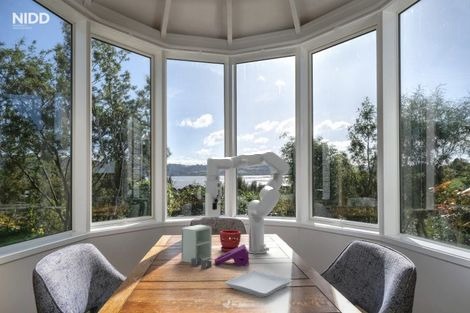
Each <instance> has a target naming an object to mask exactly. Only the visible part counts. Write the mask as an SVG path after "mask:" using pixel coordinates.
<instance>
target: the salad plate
mask: <svg viewBox="0 0 470 313" xmlns="http://www.w3.org/2000/svg"><path fill="white" fill-rule="evenodd" d="M292 281H293V280H292V279H289V278H286V277H283V276H278V275H275V274H272V273H271V274H270V273H266V272H262V271H261V272H260V271H256V270H251V271H249V272H246V273H244V274H241V275H238V276H236V277H234V278H231V279H229V280H226V281H225V282H224V283H225V285H227V287H229V288H231V289H234V290H236V291H239V292H243V293H247V294H250V295H253V296H256V297H261V298H262V297H263V298H265V297H267V296H269V295H272V294H274V293H275V292H277V291H279V290H281V289H283V288H285V287H287V286H289V285H290V284H291V282H292Z"/></svg>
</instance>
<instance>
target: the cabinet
mask: <svg viewBox="0 0 470 313" xmlns="http://www.w3.org/2000/svg"><path fill="white" fill-rule="evenodd" d="M212 232H213V231H212V225H203V224H196V225H189V226H186V227H182V228H181V259H180V260H181V262H183V263H184V262H185V263H188V264H191V258H195V259H196V264H197V258H200V259H201V260H204V261H207V260H210V259H212V253H213V252H212V239H213V238H212V235H213V234H212Z"/></svg>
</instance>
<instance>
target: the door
mask: <svg viewBox="0 0 470 313" xmlns="http://www.w3.org/2000/svg"><path fill="white" fill-rule="evenodd" d="M204 198H205V202H204V204H205V206H204V207H205V209H204V216H205V218H206V219H207V218H208V219H209V218H215V217H216V218H217V217H221V199H220V200H219V201H218V203H217V209H216V210H213V209H212V206H213V198H212V193H205V196H204Z"/></svg>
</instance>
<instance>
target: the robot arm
mask: <svg viewBox="0 0 470 313" xmlns="http://www.w3.org/2000/svg"><path fill="white" fill-rule="evenodd" d="M266 165H268V166H269V172H270V178H269V180H268V181H267V182H266V184H265V185H264V186H263V187H262V189H261V190H260V191H259V196H258V197H259V199H260V200H257V199H253V200H251V201H250V202H249V203H248V204H247V214H248V247H246V249H247V251H248V254H253V255H254V254H256V255H257V254H258V255H259V254H260V255H261V254H264V253H265V254H266V253H267V252H268V251H270V247H269V246H267V245H266V244H265V219H264V218H265V217H267V216H268V215H269V214H271V212H272V211H273V209H274V208H275V207H276V205H277V204H278V203H279V201H280V198H281V194H280V191H279V190H280V189H281V187H282V185H283V182H284V178H283V175H286V174H288V173H289V171H290V165H289V163H288V162H287V160H284V159H283V158H282V157H280V156H279V155H278V154H277V153H275V152H274V151H271V150H265V151H258V152H250V153H243V154H239V155H236V156H231V157H230V156H229V157H221V158H218V157H208V158H207V160H206V181H205V189H204V190H205V193H212V198H213V206H212V209H213V210H216V209H217V203H218V201H219V200H220V201H221V199H222V194H223V193H222V182H221V181H220V179H221V177H220V171H229V170H231V169H233V170H234V169H239V168H240V169H242V168H243V169H244V168H245V169H246V168H252V167H258V166H266Z"/></svg>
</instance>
